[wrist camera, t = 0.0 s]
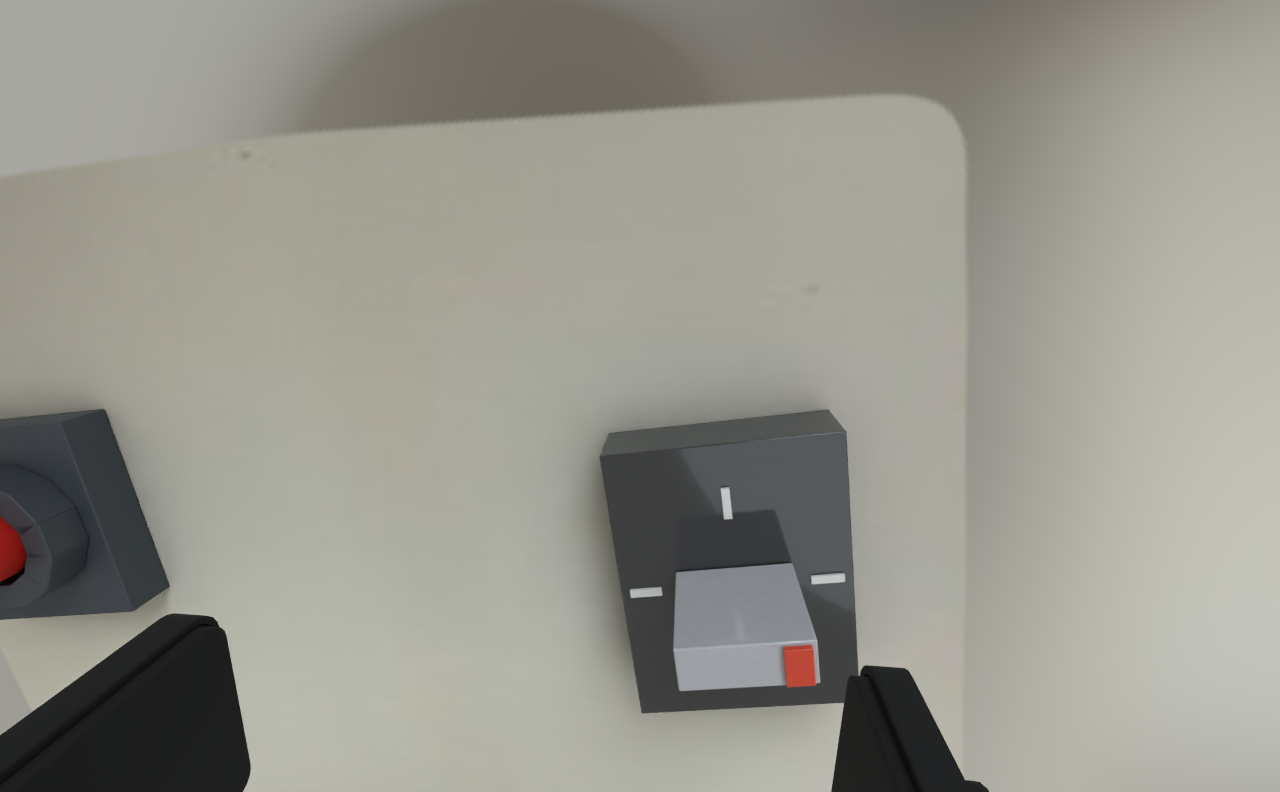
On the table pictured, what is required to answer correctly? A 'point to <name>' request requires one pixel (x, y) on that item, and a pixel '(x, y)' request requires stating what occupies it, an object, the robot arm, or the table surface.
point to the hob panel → (733, 538)
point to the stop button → (10, 551)
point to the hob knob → (743, 629)
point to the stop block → (73, 520)
